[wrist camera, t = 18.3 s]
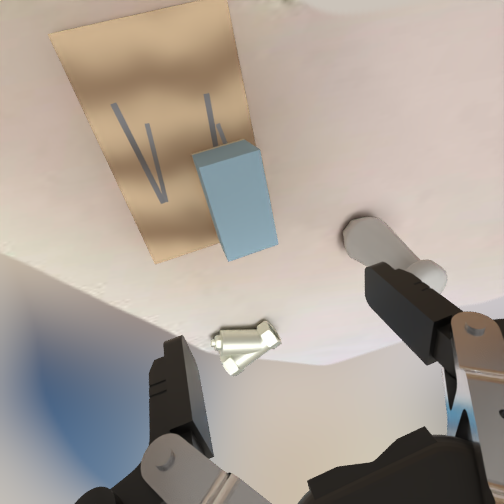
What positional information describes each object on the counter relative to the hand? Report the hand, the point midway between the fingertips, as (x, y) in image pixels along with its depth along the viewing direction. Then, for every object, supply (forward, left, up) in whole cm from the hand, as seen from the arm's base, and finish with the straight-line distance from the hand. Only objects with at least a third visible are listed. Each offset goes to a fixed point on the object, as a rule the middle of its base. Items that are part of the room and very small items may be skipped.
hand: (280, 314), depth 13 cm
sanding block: (+2, +2, -20) cm, 20 cm away
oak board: (-3, -1, -22) cm, 22 cm away
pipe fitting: (+23, -1, -22) cm, 32 cm away
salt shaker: (+13, +17, -22) cm, 31 cm away
